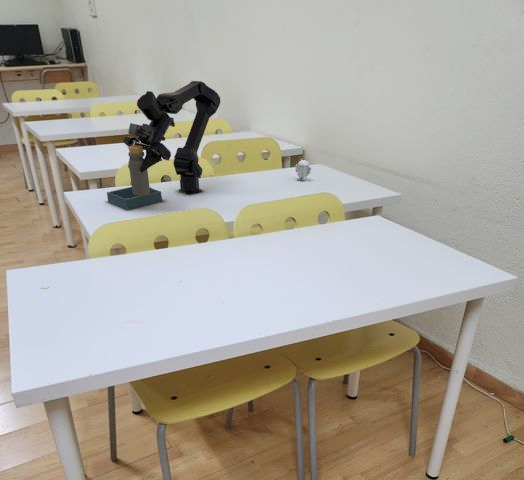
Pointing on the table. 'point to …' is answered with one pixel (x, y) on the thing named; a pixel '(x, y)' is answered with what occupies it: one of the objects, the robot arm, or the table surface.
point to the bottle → (138, 171)
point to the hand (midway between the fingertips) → (134, 169)
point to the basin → (120, 198)
